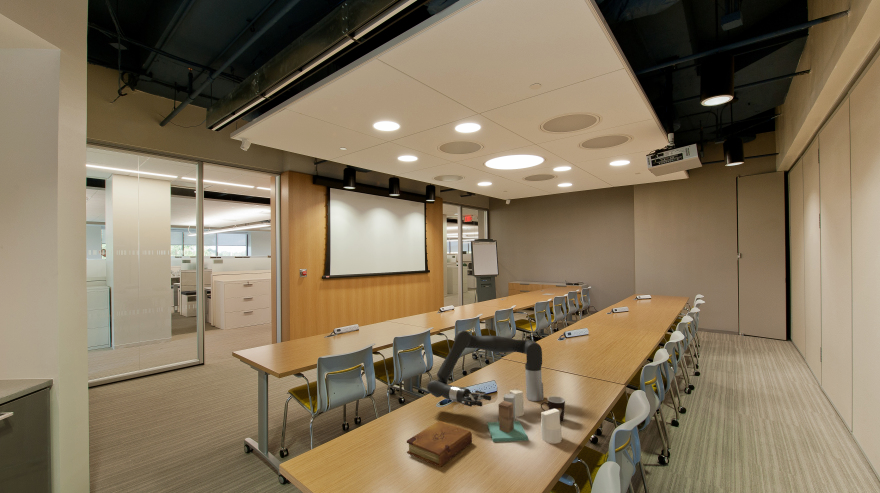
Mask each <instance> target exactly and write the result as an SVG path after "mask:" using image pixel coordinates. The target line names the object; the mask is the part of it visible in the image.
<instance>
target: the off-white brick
mask: <svg viewBox="0 0 880 493" xmlns="http://www.w3.org/2000/svg"><path fill="white" fill-rule="evenodd" d="M509 394H512V395H515V418H518V417H522V416H524V414H525V412H524V409H525V407H524V392H523V391H522V390H520V389H518V388H514V389H511V390H509Z"/></svg>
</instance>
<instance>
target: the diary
mask: <svg viewBox="0 0 880 493" xmlns="http://www.w3.org/2000/svg"><path fill="white" fill-rule="evenodd" d="M472 443H473V433H472V432H471V430H469V429H465V428H463V427H459V426H456V425H453V424H450V423H447V422H444V421H442V420H438V421H437V422H435V423H434V424H432V425H430V426H428V427H426V428H425V429H424V430H421V431H420V432H418V433H417V434H415V435H413V436H412V437H410V438H408V439H407V440H406V444H408V450H407V451H406V453H407V454H409V455H412V456H413V455H414V457H416V458H418V459H420V460H422V459H423V460H422V461H425V462H427V461H428V462H427V463H429V462H430V463H429V464H431V465H434V466H437V467H439V468H441V467H442V466H444V464H446V463H447V462H449V461H450V460H451V459H452V458H453V457H455V456H456V455H458V454H459V453H460V452H462V451H463V450H464V449H465V448H467V447H468V446H469V445H471V444H472ZM466 446H467V447H466ZM457 453H458V454H457Z"/></svg>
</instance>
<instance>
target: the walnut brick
mask: <svg viewBox="0 0 880 493" xmlns="http://www.w3.org/2000/svg"><path fill="white" fill-rule="evenodd" d="M498 422H499V430H501V431H504V432H508V433H509V432H511V431H512V430H513V429H514V418H513V403H510V402H506V401H504V400H503V401H500V403H498Z"/></svg>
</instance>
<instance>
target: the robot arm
mask: <svg viewBox="0 0 880 493" xmlns="http://www.w3.org/2000/svg"><path fill="white" fill-rule="evenodd" d="M453 341H454V342H453V345H452V347H451V349H450V351H449V353H448V354H447V356H446V357H445V359H444V361H442V364H441V366H440V367H439V369H438V371H437V373H436V376H437V378H438V379H437V380H435V379H433V380H430V381H429V382H428V383H427V385H426V389H427V391H428V392H429V394H431V395H432V396H434V397H435V398H440V397H443V398H444V399H446V400H451V401H452V402H456V403H459V404H462V405H464V406H467V407H474V406H475V407H476V406H477V407H483V401H481V400H486V401H491V400H492V395H488V394H486V391H481V390H474V392H471V391H470V389H469V388H466V387H462V386H457V385H450V384H448V380H449V379H450V376H451V374H452V373H453V371H454V368H455V367H456V365H457V363H458V360H459V359H460V357H461V355H462V354H463V352H464V351H465V349H478V350H481V351H488V352H494V353H499V354H500V353H503V354H507V353H520V354H524V355H526V356H525V357H526V361H525V362H526V363H525V364H524V367H525V370H524V372H525V373H524V374H525V390H526V392H525V396H526V400H528V401H531V402H540V401H543V400H545V399H544V398H545V397H544V395H545V394H544V382H543V378H542V376H543V375H542V366H543V351H542V347H541V345H540V344H539V343H537V342H536V341H535V340H532V339H514V338H510V337H505V336H498V335H472V334H470V332H469V331H467V330H460V331H458V332H457V333H456V334H455V336H454V338H453Z"/></svg>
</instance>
